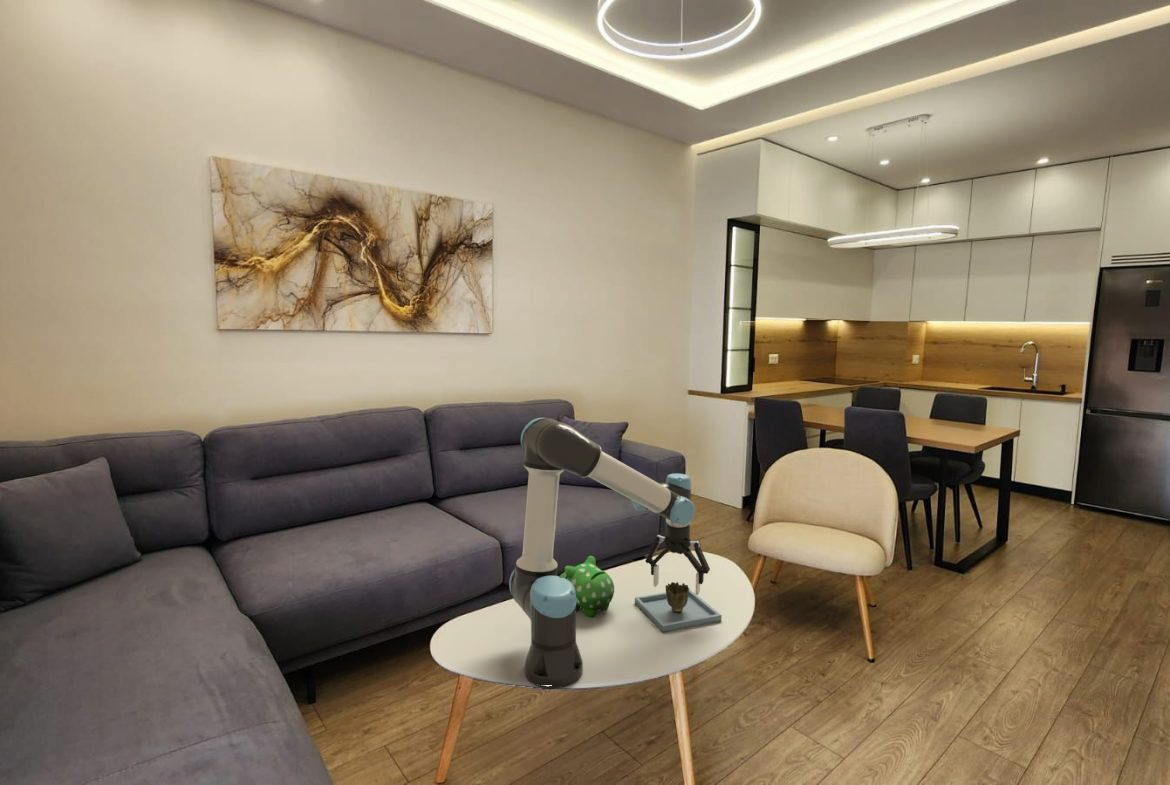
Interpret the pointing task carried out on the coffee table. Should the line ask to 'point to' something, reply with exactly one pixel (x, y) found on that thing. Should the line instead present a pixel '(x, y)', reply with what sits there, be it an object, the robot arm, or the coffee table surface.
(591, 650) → the coffee table surface
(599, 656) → the coffee table surface
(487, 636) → the coffee table surface
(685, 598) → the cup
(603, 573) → the piggy bank
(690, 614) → the tray
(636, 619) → the coffee table surface
